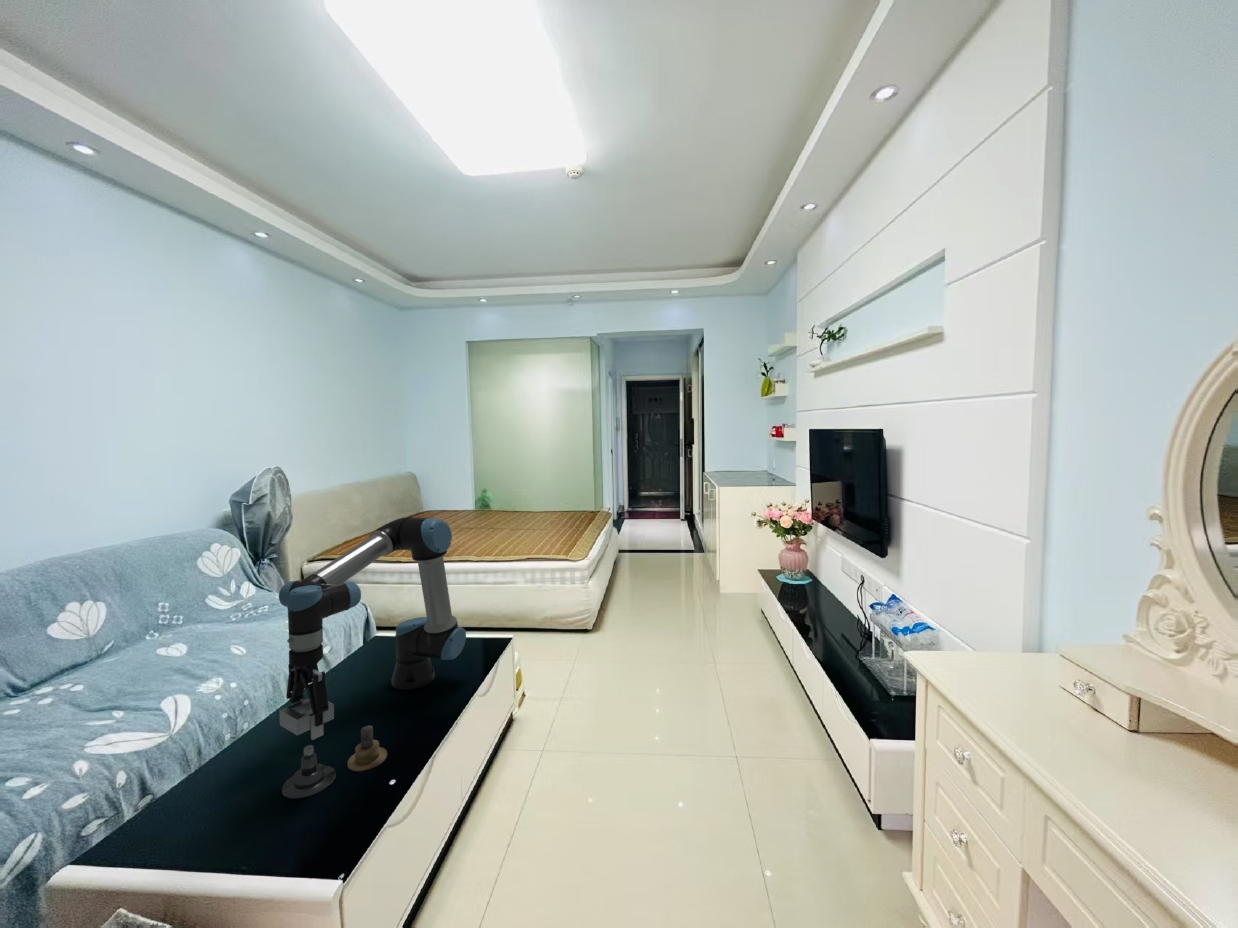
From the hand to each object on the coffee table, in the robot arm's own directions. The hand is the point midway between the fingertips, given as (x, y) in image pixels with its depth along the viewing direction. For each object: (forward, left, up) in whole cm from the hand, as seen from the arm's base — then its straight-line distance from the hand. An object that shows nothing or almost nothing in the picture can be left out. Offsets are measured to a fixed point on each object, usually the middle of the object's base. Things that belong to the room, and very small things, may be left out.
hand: (307, 731), depth 128 cm
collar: (0, 0, +3) cm, 3 cm away
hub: (0, 0, -14) cm, 14 cm away
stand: (-14, +4, -14) cm, 20 cm away
